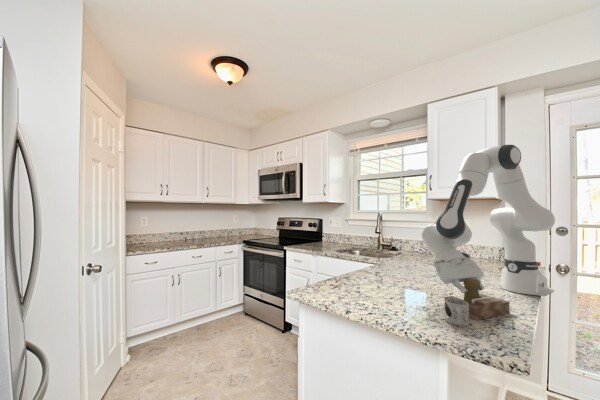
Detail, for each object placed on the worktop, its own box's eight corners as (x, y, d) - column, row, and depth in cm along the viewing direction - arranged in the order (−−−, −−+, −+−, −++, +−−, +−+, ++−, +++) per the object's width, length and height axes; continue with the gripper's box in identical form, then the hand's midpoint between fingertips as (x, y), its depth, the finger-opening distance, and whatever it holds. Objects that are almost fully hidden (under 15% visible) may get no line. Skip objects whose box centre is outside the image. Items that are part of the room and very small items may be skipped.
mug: (444, 316, 92) (444, 297, 92) (466, 320, 90) (466, 300, 90) (447, 328, 83) (447, 306, 83) (472, 332, 80) (472, 310, 81)
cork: (484, 312, 97) (484, 281, 97) (466, 311, 98) (466, 280, 98) (477, 306, 103) (476, 277, 103) (459, 305, 104) (459, 276, 104)
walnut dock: (476, 302, 108) (476, 289, 108) (509, 313, 97) (509, 299, 97) (444, 307, 101) (444, 294, 101) (476, 320, 90) (476, 305, 90)
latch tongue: (488, 308, 99) (488, 296, 99) (491, 309, 98) (491, 297, 99) (471, 312, 96) (471, 299, 96) (474, 313, 95) (474, 300, 95)
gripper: (436, 256, 103) (460, 289, 94) (472, 254, 111) (497, 284, 102) (426, 265, 107) (448, 298, 98) (461, 262, 115) (485, 292, 106)
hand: (473, 290), depth 100 cm, fingers open, 8 cm apart
